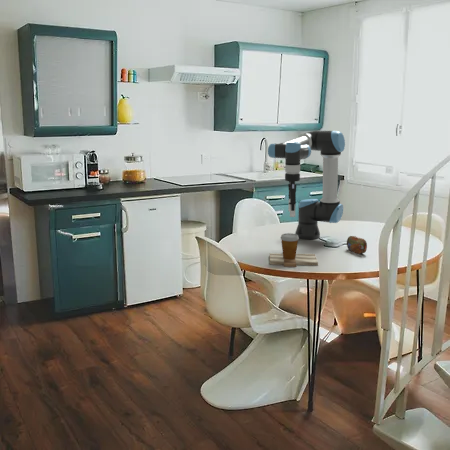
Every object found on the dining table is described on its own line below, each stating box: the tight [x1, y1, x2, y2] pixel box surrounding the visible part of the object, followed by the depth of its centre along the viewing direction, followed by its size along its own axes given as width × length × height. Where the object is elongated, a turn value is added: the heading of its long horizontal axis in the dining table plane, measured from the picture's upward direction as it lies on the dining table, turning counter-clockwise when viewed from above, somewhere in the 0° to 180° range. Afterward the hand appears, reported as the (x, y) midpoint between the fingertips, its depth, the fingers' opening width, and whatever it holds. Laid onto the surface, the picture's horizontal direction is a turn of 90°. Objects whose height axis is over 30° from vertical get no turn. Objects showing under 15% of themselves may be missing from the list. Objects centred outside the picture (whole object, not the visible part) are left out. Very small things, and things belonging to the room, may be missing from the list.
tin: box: [346, 235, 368, 255], centre depth 298 cm, size 15×3×8 cm, turn 24°
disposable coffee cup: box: [280, 232, 300, 259], centre depth 282 cm, size 10×10×12 cm
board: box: [269, 252, 319, 268], centre depth 283 cm, size 22×24×2 cm
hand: (291, 214), depth 280 cm, fingers open, 13 cm apart
